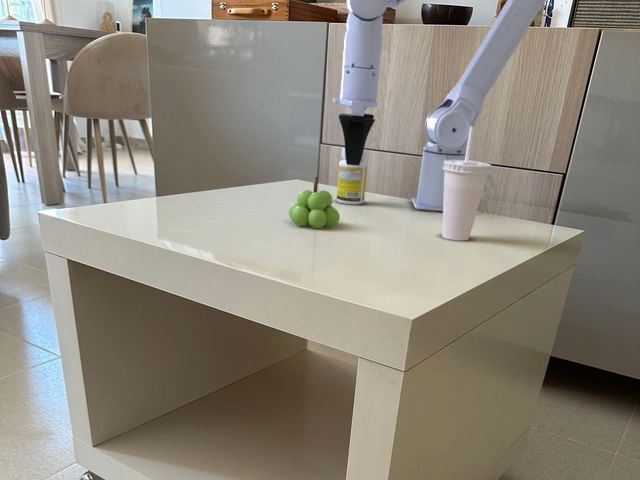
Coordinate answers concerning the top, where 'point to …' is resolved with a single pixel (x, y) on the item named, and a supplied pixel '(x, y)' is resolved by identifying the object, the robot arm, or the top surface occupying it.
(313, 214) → the grapes
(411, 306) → the top surface
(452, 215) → the smoothie
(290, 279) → the top surface
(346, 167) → the supplement bottle
